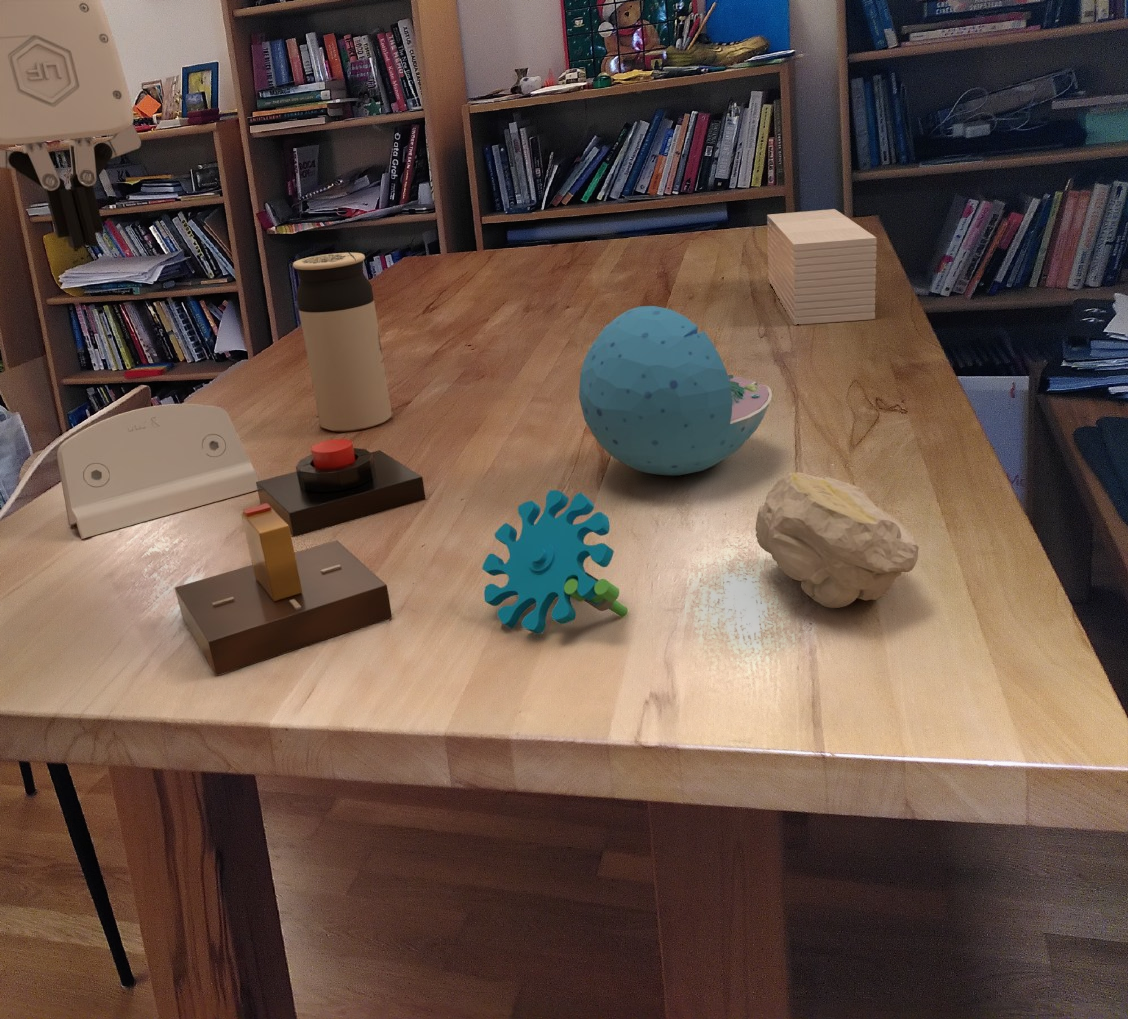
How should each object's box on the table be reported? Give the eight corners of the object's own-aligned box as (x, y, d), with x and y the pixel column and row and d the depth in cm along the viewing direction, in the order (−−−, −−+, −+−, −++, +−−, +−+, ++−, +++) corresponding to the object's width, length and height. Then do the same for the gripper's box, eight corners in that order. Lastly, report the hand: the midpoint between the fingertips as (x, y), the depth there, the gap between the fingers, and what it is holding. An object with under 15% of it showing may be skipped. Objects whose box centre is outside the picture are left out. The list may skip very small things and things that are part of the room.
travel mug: (318, 437, 112) (286, 268, 105) (322, 416, 119) (293, 257, 113) (392, 427, 113) (366, 259, 106) (392, 407, 120) (367, 249, 114)
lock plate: (216, 676, 66) (207, 639, 65) (182, 618, 74) (173, 585, 73) (392, 617, 71) (386, 582, 70) (342, 569, 79) (336, 537, 78)
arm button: (322, 474, 89) (318, 455, 89) (309, 464, 92) (305, 445, 92) (361, 464, 91) (358, 445, 90) (347, 454, 94) (344, 435, 93)
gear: (452, 586, 71) (533, 464, 72) (503, 615, 75) (580, 500, 76) (551, 662, 63) (641, 525, 64) (602, 690, 68) (686, 562, 68)
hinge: (78, 539, 90) (41, 427, 89) (73, 541, 94) (38, 434, 93) (265, 487, 98) (233, 384, 97) (253, 491, 102) (222, 392, 101)
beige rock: (819, 542, 77) (720, 596, 72) (806, 436, 74) (701, 485, 69) (961, 582, 67) (858, 648, 62) (952, 462, 64) (843, 521, 59)
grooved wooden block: (874, 319, 140) (876, 237, 136) (794, 325, 141) (793, 243, 137) (834, 277, 169) (835, 208, 165) (768, 282, 170) (767, 214, 166)
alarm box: (293, 537, 86) (284, 492, 85) (260, 504, 94) (251, 462, 93) (426, 499, 92) (419, 457, 90) (383, 471, 100) (377, 431, 98)
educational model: (812, 450, 95) (812, 284, 89) (682, 519, 83) (672, 332, 77) (677, 424, 105) (669, 274, 99) (544, 482, 93) (527, 315, 88)
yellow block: (303, 593, 70) (288, 521, 68) (273, 602, 69) (258, 529, 67) (282, 569, 74) (268, 501, 72) (254, 577, 73) (239, 509, 71)
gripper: (-126, -51, 61) (-31, 267, 68) (140, -56, 68) (202, 234, 74) (-123, -32, 67) (-36, 258, 74) (120, -39, 74) (179, 227, 80)
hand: (83, 245), depth 74 cm, fingers closed
